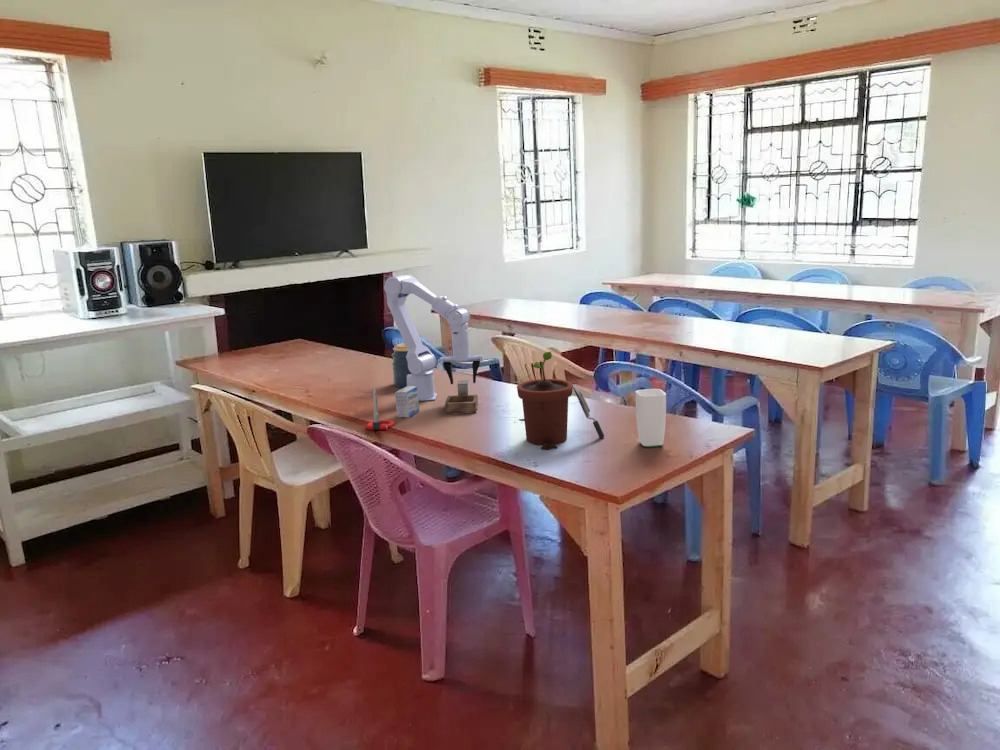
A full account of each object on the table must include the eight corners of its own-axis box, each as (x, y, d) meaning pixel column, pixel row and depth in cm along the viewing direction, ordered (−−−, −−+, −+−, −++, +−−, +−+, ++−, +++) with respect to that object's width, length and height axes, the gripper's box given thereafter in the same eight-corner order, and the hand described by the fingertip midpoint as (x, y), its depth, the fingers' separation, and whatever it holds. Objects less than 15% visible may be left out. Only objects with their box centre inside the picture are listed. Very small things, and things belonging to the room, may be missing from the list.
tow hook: (372, 423, 251) (363, 430, 242) (369, 383, 249) (360, 389, 240) (397, 423, 250) (389, 430, 241) (395, 383, 247) (386, 389, 238)
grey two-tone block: (458, 403, 267) (457, 384, 265) (459, 400, 272) (458, 380, 270) (468, 403, 267) (467, 383, 265) (469, 399, 272) (468, 380, 270)
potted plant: (543, 426, 237) (540, 345, 231) (605, 437, 223) (603, 352, 218) (507, 442, 224) (503, 357, 218) (570, 455, 210) (567, 364, 204)
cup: (667, 447, 212) (667, 394, 209) (641, 449, 212) (640, 396, 208) (660, 439, 219) (660, 388, 216) (634, 441, 219) (634, 389, 215)
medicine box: (409, 418, 253) (406, 392, 251) (396, 417, 254) (394, 391, 252) (419, 411, 260) (417, 386, 258) (407, 410, 262) (405, 385, 260)
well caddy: (445, 414, 255) (445, 403, 255) (448, 405, 265) (447, 395, 264) (476, 412, 255) (475, 402, 254) (478, 404, 265) (477, 394, 264)
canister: (399, 390, 290) (395, 343, 286) (389, 383, 302) (385, 338, 298) (432, 385, 295) (429, 339, 291) (421, 378, 307) (418, 334, 303)
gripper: (438, 347, 261) (440, 386, 264) (481, 345, 260) (483, 384, 263) (440, 343, 268) (443, 381, 271) (482, 341, 267) (484, 379, 270)
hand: (463, 383), depth 268 cm, fingers open, 7 cm apart
